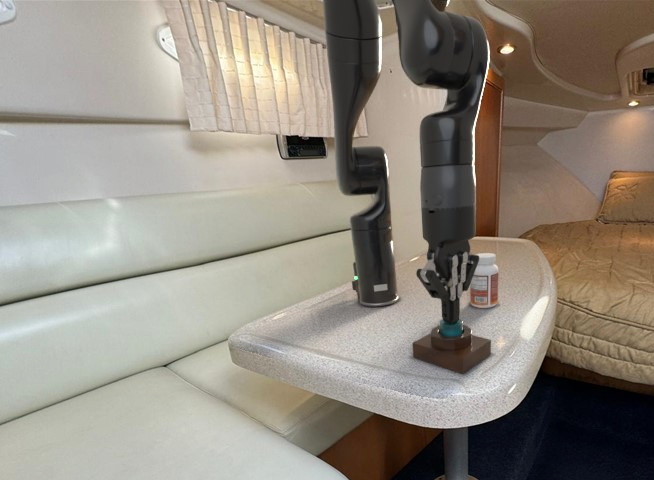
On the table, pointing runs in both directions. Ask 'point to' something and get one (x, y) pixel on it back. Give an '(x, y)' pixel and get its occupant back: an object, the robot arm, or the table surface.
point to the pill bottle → (485, 282)
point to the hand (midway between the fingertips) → (450, 321)
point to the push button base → (452, 349)
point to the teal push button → (451, 328)
